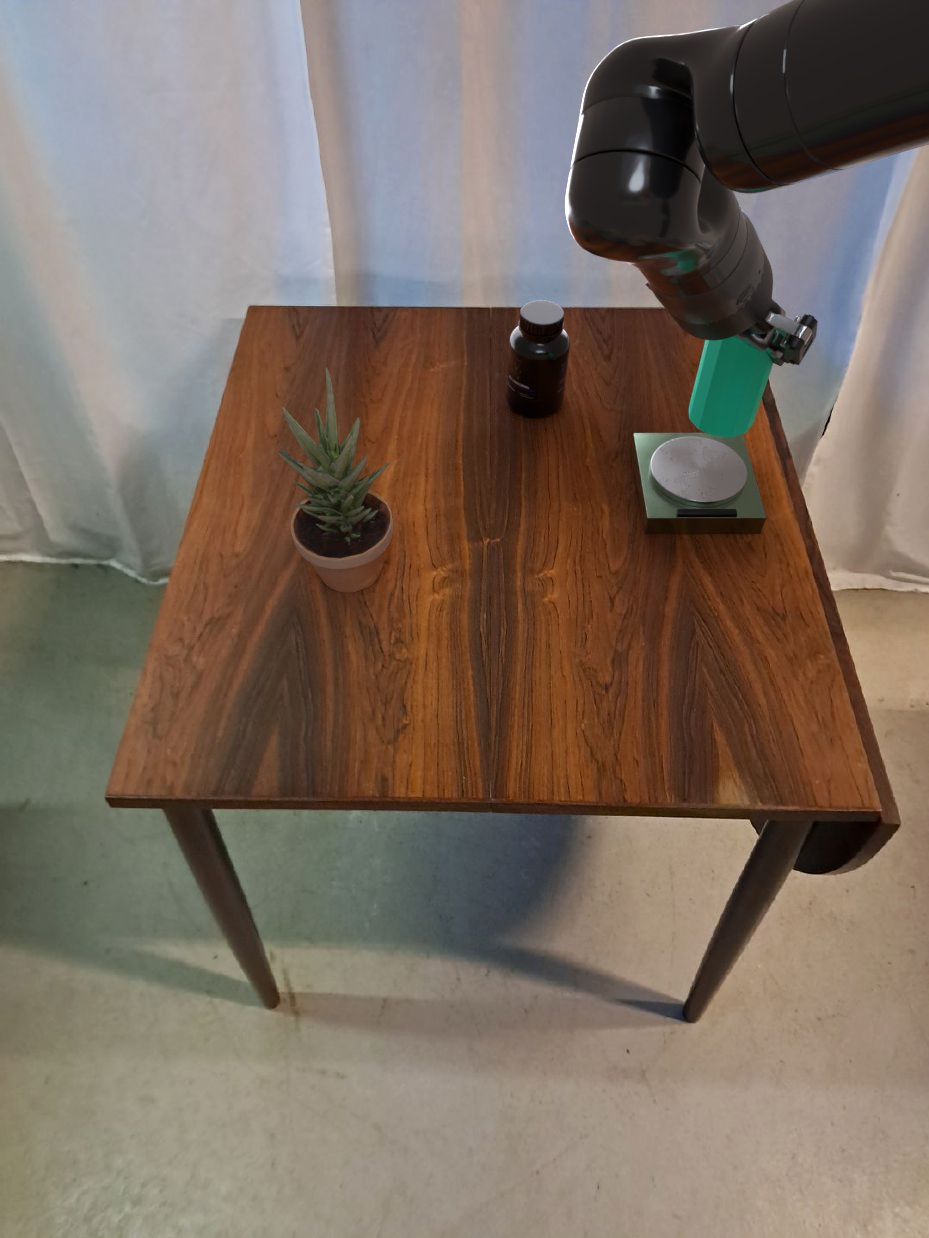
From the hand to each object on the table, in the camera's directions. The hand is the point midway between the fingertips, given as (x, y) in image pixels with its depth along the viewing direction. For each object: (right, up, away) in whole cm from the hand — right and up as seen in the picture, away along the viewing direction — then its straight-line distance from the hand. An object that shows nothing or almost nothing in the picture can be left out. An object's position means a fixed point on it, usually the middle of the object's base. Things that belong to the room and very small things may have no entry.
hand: (750, 339), depth 77 cm
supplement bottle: (-16, +1, +28) cm, 33 cm away
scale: (0, -10, +19) cm, 21 cm away
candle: (-1, -6, +5) cm, 8 cm away
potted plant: (-36, -19, +12) cm, 43 cm away
